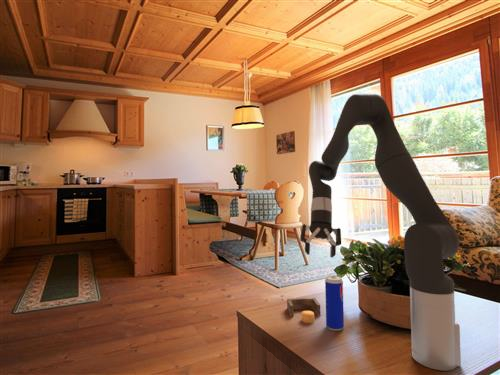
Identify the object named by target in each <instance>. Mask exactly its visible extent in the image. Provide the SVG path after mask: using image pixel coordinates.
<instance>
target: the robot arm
mask: <svg viewBox="0 0 500 375" xmlns="http://www.w3.org/2000/svg"><path fill="white" fill-rule="evenodd" d="M367 125H368V126H370V127H371V129H372V131H373V132H374V135H375V138H376V147H375V154H374V165H375V169H376V171H377V173H378V175H379V177H380V179H381V182H383V185H384V186H385V188H386V189H387V190H388V191H389V192H390V193H391V194H392V195H393V196H394V197H396V199H397V200H398V201H399V202H401V204H402V205H404V206H405V208H406V209H407V210H408V212H409V213H410V215H411V217H412V219H413V220H414V222H415V224H412V225H410V226H409V227H408V228H407V229H406V231H405V233H404V238H403V253H404V264H405V271H406V272H405V273H406V275H407V277H408V279H409V280H408V281H409V297H410V298H409V299H410V302H409V303H410V330H411V331H410V332H411V336H410V337H411V356H412V358H413V359H414V360H415V361H416V362H417V363H418V364H420V365H421V366H424V367H427V368H428V369H433V370H437V371H445V372H446V371H447V372H448V371H452V370H455V369H456V368H457V367H461V366H462V360H461V359H462V358H461V332H460V329H461V328H460V324H458V323H457V322H456V308H455V306H456V305H455V303H456V302H455V282H454V280H453V278H452V277H450V276H448V275H446V273H445V270H444V269H445V268H444V260H445V259H448V258H449V259H450V258H451V257H453V256H456V254H457V253H458V251H459V249H460V238H459V236H458V233H457V231H456V229H455V228H454V226H453V225H452V223H451V221H449V219H448V217H447V216H446V214H445V213H444V212H443V210H442V209H441V208H440V206H439V204H438V203H437V201H436V199H435V198H434V196H433V194H432V192H431V190H430V189H429V187H428V185H427V183H426V181H425V180H424V178H423V176H422V174H421V172H420V171H419V168H418V166H417V164H416V162H415V160H414V159H413V157H412V154H410V152H409V150H408V148H407V147H406V145H405V143H404V140H403V139H402V137H401V135H400V132H399V131H398V129H397V127H396V125H395V122H394V119H393V116H392V114H391V110H390V109H389V107H388V104H387V102H386V101H385V99H384V97H383V96H382V95H380V94H378V93H355V94H352V95H351V96H349V97H348V99H347V100H346V102H345V103H344V105H343V108H342V110H341V113H340V115H339V119H338V121H337V123H336V127H335V130H334V131H333V135H332V136H331V138H330V140H329V142H328V144H327V146H326V147H325V149H324V150H323V152H322V154H321V161H320V160H314V161H312V162H311V163H310V164H309V167H308V176H309V178H310V183H311V188H312V196H311V197H312V198H311V205H310V207H311V208H310V225H307V224H304V223H303V224H302V225H301V229H300V230H301V231H300V235H299V236H300V239H299V241H300V242H301V243H302V242H303V243H304V253H306V255H310V254H311V253H310V249H311V244H310V242H311V241H312V240H313V239H317V240H320V239H321V240H326V241H327V242H328V243H329V245H330V251H329V252H330V254H329V256H330V258H334V257H335V256H336V253H337V252H336V250H337V248H336V247H338V246H340V245H342V231H341V228H340V227H337V228H333V226H332V225H333V224H332V222H333V221H332V220H333V219H332V218H333V216H332V215H333V204H332V194H333V193H332V187H331V186H330V185H329V183H328V184H327V183H326V182H331V181H333V180H334V179H335V178H336V177H337V172H338V169H339V167H340V164H341V161H343V159H344V158H345V156H346V155H347V152H348V151H349V146H350V140H349V135H350V132H351V131H352V130H353V129H354V128H355V127H356V126H367ZM324 181H326V182H324ZM308 230H309V232H310V233H311V234H310V235H309V237H308V238H306V232H307V231H308ZM332 233H333V234H334V235H335V239H334V237H333V235H331V234H332Z"/></svg>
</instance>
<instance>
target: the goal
mask: <svg viewBox="0 0 500 375" xmlns="http://www.w3.org/2000/svg"><path fill="white" fill-rule="evenodd" d="M286 305H287V306H286V309H287V311H288V313H289V316H290V317H293V318H294V317H295V316H294V313H295V312H294V310H313V312H314V314H316V315H317V317H318V316H319V317H320V316H321V304H320V303H319V301H318V300H317V299H316V297H301V298H300V297H297V298H294V297H293V298H287V299H286Z"/></svg>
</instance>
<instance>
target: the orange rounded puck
mask: <svg viewBox="0 0 500 375" xmlns="http://www.w3.org/2000/svg"><path fill="white" fill-rule="evenodd" d="M301 322H302V323H304V324H313V323H315V311H312V310H303V311H301Z"/></svg>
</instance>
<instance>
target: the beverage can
mask: <svg viewBox="0 0 500 375" xmlns="http://www.w3.org/2000/svg"><path fill="white" fill-rule="evenodd" d="M324 284H325V287H324V288H325V325H326V327H327V329H329V330H331V331H336V332H337V331H342V330H343V329H344V326H345V324H344V323H345V322H344V321H345V320H344V319H345V318H344V316H345V315H344V312H345V311H344V281H343V278H342V277H341V276H338V275H337V276H336V275H328V276H326V277H325V280H324Z"/></svg>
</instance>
